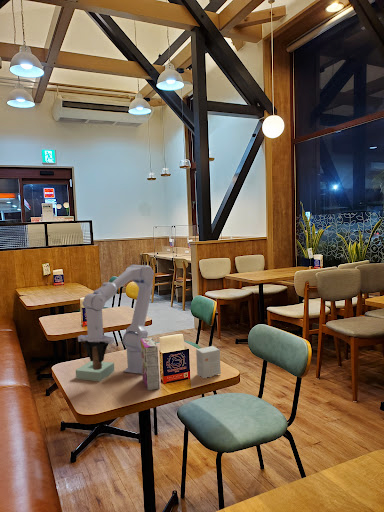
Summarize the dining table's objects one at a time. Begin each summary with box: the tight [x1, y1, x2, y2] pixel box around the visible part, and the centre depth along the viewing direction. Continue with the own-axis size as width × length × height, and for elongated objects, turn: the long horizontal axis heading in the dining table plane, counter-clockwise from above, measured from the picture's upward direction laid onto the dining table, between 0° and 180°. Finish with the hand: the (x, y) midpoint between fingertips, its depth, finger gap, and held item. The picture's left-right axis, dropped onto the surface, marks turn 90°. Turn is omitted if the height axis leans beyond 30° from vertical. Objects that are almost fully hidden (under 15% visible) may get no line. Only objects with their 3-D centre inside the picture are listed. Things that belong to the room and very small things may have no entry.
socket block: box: [75, 361, 115, 382], centre depth 155 cm, size 11×11×4 cm
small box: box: [195, 345, 221, 379], centre depth 150 cm, size 8×6×10 cm
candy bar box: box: [140, 337, 160, 391], centre depth 143 cm, size 11×5×16 cm, turn 17°
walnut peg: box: [92, 346, 103, 370], centre depth 143 cm, size 3×3×8 cm
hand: (97, 360), depth 143 cm, fingers closed on walnut peg, 3 cm apart
